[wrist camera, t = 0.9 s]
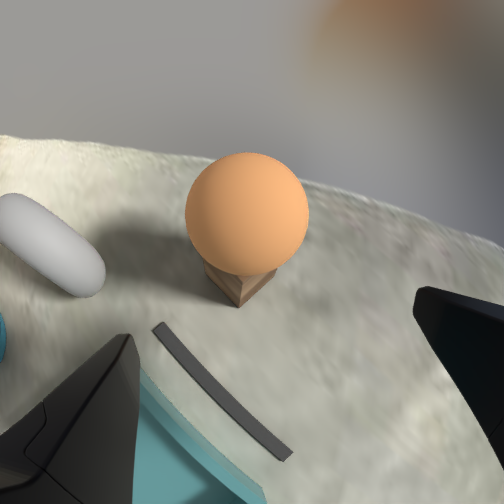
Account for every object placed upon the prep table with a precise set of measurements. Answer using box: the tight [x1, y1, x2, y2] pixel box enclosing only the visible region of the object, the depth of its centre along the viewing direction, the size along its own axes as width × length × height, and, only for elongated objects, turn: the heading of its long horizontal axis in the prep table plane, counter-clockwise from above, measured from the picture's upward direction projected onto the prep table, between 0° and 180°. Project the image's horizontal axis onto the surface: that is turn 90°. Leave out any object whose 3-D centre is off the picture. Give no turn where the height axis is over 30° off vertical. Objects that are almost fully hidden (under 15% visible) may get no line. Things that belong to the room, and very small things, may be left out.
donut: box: [0, 193, 106, 298], centre depth 17 cm, size 10×4×10 cm, turn 67°
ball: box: [185, 153, 309, 276], centre depth 15 cm, size 6×6×6 cm
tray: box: [132, 367, 267, 504], centre depth 14 cm, size 13×12×3 cm
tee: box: [203, 258, 277, 308], centre depth 20 cm, size 4×4×6 cm
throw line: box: [154, 322, 293, 462], centre depth 19 cm, size 13×1×1 cm, turn 44°
